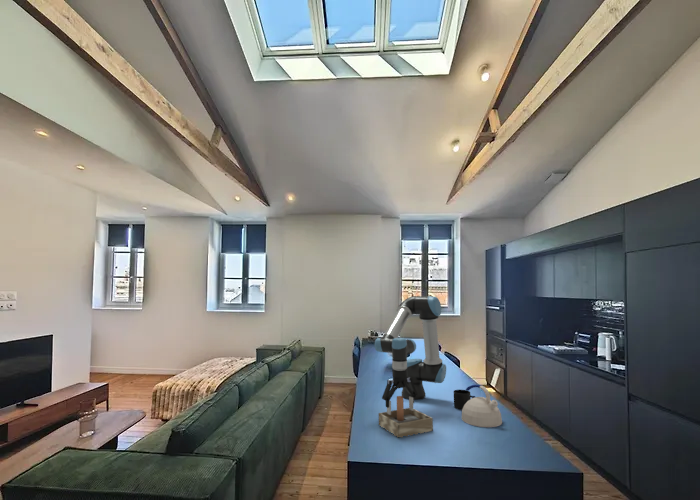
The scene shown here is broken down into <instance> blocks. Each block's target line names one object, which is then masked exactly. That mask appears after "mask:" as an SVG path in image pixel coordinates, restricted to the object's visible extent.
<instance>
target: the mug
mask: <svg viewBox="0 0 700 500" xmlns="http://www.w3.org/2000/svg"><path fill="white" fill-rule="evenodd" d="M472 396H473V395H471V391H470V390H469V391H468V390H466V389H454V390H453V407H454V409H456V410H459V411H460V410H461V411H462V409H463V407H464V405H465V404H466V402H467V401H469V400H470V399H472ZM473 398H475V397H473Z"/></svg>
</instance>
